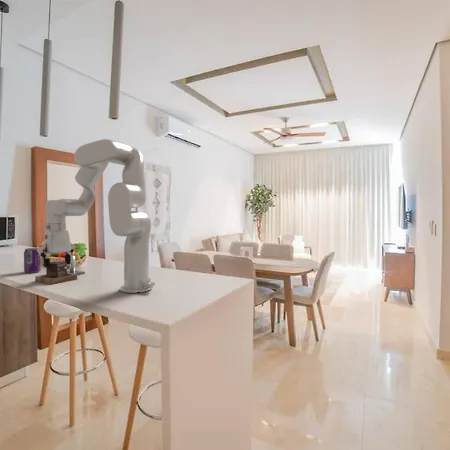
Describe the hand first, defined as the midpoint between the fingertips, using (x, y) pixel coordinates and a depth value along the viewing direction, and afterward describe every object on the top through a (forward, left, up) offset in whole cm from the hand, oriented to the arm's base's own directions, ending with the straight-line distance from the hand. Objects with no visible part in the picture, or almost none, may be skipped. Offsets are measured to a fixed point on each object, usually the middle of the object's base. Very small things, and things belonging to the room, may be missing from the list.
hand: (57, 265), depth 138 cm
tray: (+1, 0, -7) cm, 7 cm away
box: (+1, 0, -6) cm, 6 cm away
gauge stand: (+7, -12, -7) cm, 15 cm away
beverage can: (+28, -4, -7) cm, 29 cm away
